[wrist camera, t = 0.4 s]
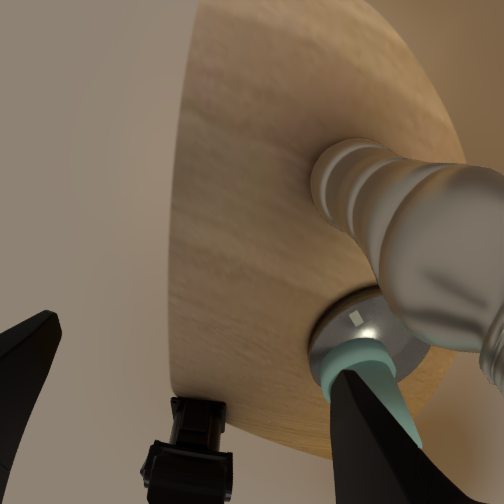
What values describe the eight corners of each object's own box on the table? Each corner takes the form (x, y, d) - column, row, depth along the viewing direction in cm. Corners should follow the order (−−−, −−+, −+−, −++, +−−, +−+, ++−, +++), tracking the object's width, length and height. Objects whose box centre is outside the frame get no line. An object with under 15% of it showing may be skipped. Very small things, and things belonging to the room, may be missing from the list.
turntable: (402, 385, 30) (406, 393, 28) (296, 390, 29) (298, 400, 28) (448, 291, 24) (454, 298, 23) (325, 285, 24) (328, 293, 23)
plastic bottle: (288, 162, 21) (454, 372, 3) (365, 121, 20) (635, 175, 2) (327, 233, 23) (455, 477, 5) (398, 194, 22) (600, 352, 4)
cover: (373, 387, 28) (403, 473, 18) (311, 389, 28) (327, 486, 17) (397, 337, 25) (445, 429, 15) (328, 337, 25) (359, 446, 15)
